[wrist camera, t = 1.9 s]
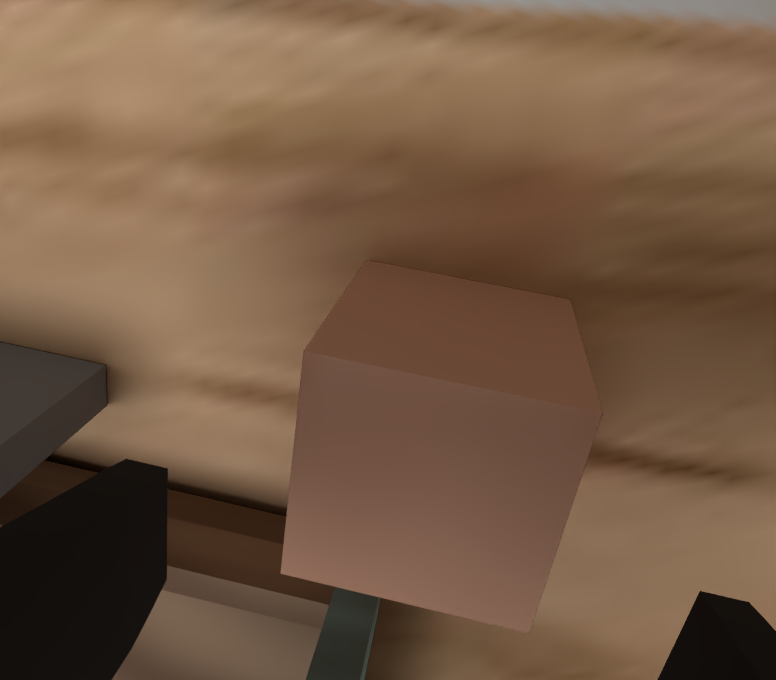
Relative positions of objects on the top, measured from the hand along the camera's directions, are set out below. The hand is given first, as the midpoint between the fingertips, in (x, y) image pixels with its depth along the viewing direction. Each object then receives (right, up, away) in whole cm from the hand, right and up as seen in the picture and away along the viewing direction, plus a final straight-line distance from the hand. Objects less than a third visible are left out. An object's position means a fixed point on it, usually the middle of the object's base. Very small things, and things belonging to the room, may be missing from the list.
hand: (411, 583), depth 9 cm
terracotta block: (+1, +3, +6) cm, 7 cm away
